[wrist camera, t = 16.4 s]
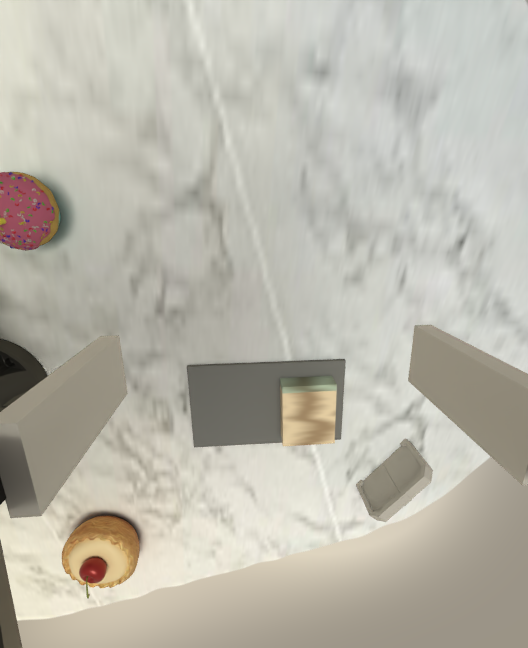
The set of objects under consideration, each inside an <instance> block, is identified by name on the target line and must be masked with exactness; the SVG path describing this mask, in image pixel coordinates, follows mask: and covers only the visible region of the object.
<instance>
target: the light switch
mask: <svg viewBox="0 0 528 648" xmlns="http://www.w3.org/2000/svg"><path fill="white" fill-rule="evenodd" d="M400 444H401V447H399V448H398V449H397V450H396V451H395V452H394V453H393V454H392V455H391V456H390V457H389V458H388V459H386V460H385V461H384V462H383V464H381V465H380V466H379V467H378V468H377V469H376V470H375V471H373V472H372V473H371V474H370V475H369V476H368V477H367V478H366V479H365V480H364V481H362V480H360V481H359V482H358V483H357V484H356V486H357V488H358V490H359V492H360V495H361V497H362V499H363V501H364V504H365V506H366V508H367V511H368V513H369V515H370V516H371V517H373V518H374V519H376V520H379V521H384V522H386V521H387V520H389V519H390V518H391V517H392V516H393V515H394V514H395V513H397V512H398V511H399V510H400V509H401V508H402V507H403V506H405V505H406V504H408V503H409V502H410V501H411V500H412V498H414V497H415V496H416V495H417V494H418V493H419V492H420V491H422V490H423V489H424V488H425V487H426V486H427V485H428V484H430V483H431V480H432V472H433V470H432V469H431V467H430V466H429V465H428V464H427V462H426V461H425V460H424V458H423V457H422V456H421V455H420V453H419V452H418V451H417V450H416V448H415V447H414V446H413V445H412V443H410V442H409V441H408V440H407V439H404V440H403V441H402V442H401V443H400Z"/></svg>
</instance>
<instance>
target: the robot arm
mask: <svg viewBox="0 0 528 648" xmlns="http://www.w3.org/2000/svg"><path fill="white" fill-rule="evenodd" d="M408 381H409V382H410V383H411V384H412V385H413V386H414V387H415V388H417V389H418V390H419V391H420V392H421V393H422V394H423V395H424V396H425V397H426V398H427V399H429V400H430V401H431V402H432V403H433V404H434V405H435V406H436V407H437V408H438V409H439V410H441V411H442V412H443V413H444V414H445V415H446V416H447V417H448V418H449V419H450V420H452V421H453V422H454V423H455V424H456V425H457V426H458V427H459V428H460V429H461V430H462V431H464V432H465V433H466V434H467V435H468V436H469V437H470V438H471V439H472V440H473V441H474V442H476V443H477V444H478V445H479V446H480V447H481V448H482V449H483V450H484V451H485V452H486V453H488V454H489V455H490V456H491V457H492V458H493V459H494V460H495V461H496V462H497V463H499V464H500V465H501V466H502V467H503V468H504V469H505V470H506V471H507V472H508V473H510V474H511V475H512V476H513V477H514V478H515V479H516V480H517V481H518V482H519V483H520V484H521V485H528V374H527V373H525V372H523V371H521V370H519V369H517V368H515V367H513V366H511V365H509V364H507V363H505V362H503V361H501V360H499V359H497V358H495V357H493V356H491V355H489V354H487V353H485V352H483V351H481V350H479V349H477V348H476V347H474V346H472V345H470V344H468V343H466V342H464V341H462V340H460V339H458V338H456V337H454V336H452V335H450V334H448V333H446V332H444V331H442V330H440V329H438V328H436V327H434V326H432V325H415V327H414V336H413V344H412V353H411V361H410V370H409V378H408ZM126 395H127V387H126V380H125V373H124V367H123V360H122V353H121V346H120V340H119V336H100V337H99V338H98V339H96V340H95V341H94V342H92V343H91V344H90V345H88V346H87V347H86V348H85V349H83V350H82V351H81V352H79V353H78V354H77V355H75V356H74V357H73V358H71V359H70V360H69V361H67V362H66V363H65V364H63V365H62V366H61V367H59V368H58V369H57V370H55V371H54V372H53V373H51V374H50V375H49V376H47V375H46V373H45V371H44V370H43V368H42V366H41V365H40V364H39V363H38V361H37V360H36V359H35V358H34V357H33V356H32V355H31V354H29V353H28V352H27V351H25V350H24V349H22V348H21V347H19V346H17V345H15V344H13V343H11V342H8V341H5V340H1V339H0V505H1V503H2V502H3V501H4V500H6V504H7V507H8V511H9V514H10V518H18V517H33V516H42V514H43V513H44V511H45V510H46V509H47V507H48V506H49V504H50V503H51V501H52V500H53V499H54V497H55V496H56V494H57V493H58V491H59V490H60V489H61V487H62V486H63V484H64V483H65V481H66V480H67V479H68V477H69V476H70V474H71V473H72V471H73V470H74V469H75V467H76V466H77V464H78V463H79V462H80V460H81V459H82V457H83V456H84V454H85V453H86V452H87V450H88V449H89V447H90V446H91V444H92V443H93V442H94V440H95V439H96V437H97V436H98V434H99V433H100V432H101V430H102V429H103V427H104V426H105V424H106V423H107V422H108V420H109V419H110V417H111V416H112V414H113V413H114V412H115V410H116V409H117V407H118V406H119V405H120V403H121V402H122V400H123V399H124V397H125V396H126ZM0 648H22V644H21V640H20V634H19V629H18V624H17V619H16V614H15V609H14V605H13V600H12V595H11V590H10V585H9V580H8V575H7V570H6V565H5V560H4V555H3V550H2V546H1V541H0Z"/></svg>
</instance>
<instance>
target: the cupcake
mask: <svg viewBox="0 0 528 648" xmlns="http://www.w3.org/2000/svg"><path fill="white" fill-rule="evenodd" d="M60 220H61V215H60V210H59V208H58V205H57V203H56V201H55V199H54V196H53V194H52V192H51V191H50V190H49V189H48V188H47V187H46V186H45V185H43V184H42V183H41V182H40V181H39V180H38V179H36V178H35V177H33V176H30V175H27V174H24V173H20V172H1V173H0V243H3V244H5V245H8V246H10V248H16V249H21V250H25V251H26V250H33V249H36V248H38V247H39V246H40V245H43V244H45V243H47V242H49V241H50V240H51V239H52V237H53V236H54V235H55V233H56V232H57V230H58V226H59V224H60Z"/></svg>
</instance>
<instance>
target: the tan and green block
mask: <svg viewBox="0 0 528 648" xmlns="http://www.w3.org/2000/svg"><path fill="white" fill-rule="evenodd" d="M336 394H337V384H336V382H335V380H334V379H333V377H332V376H314V377H294V378H280V406H281V438H282V443H283V446H296V445H312V444H328V443H335V419H336Z"/></svg>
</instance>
